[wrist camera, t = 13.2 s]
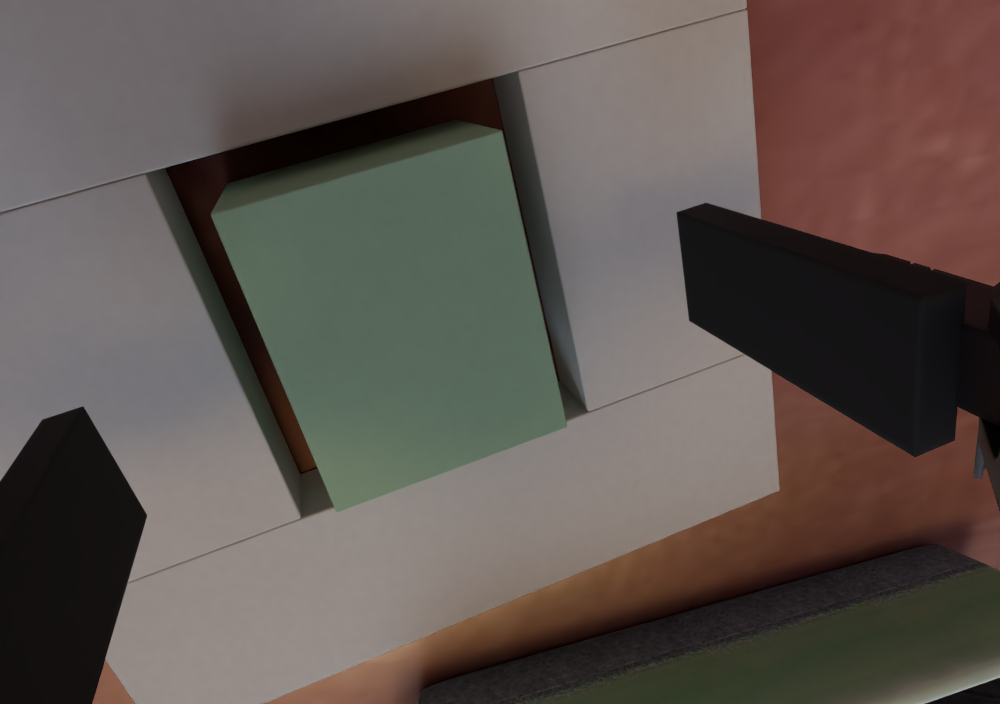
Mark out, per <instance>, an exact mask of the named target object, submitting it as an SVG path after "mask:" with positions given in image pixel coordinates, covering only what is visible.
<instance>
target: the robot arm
mask: <svg viewBox="0 0 1000 704" xmlns="http://www.w3.org/2000/svg"><path fill="white" fill-rule="evenodd" d="M676 213H677V222H678V230H679V239H680V247H681V256H682V264H683V273H684V281H685V290H686V299H687V307H688V316H689V321H690V322H692V323H693V324H695V325H697V326H698V327H700V328H702V329H703V330H705V331H707V332H708V333H710V334H712V335H713V336H715V337H717V338H718V339H720V340H722V341H723V342H725V343H727V344H728V345H730V346H732V347H733V348H735V349H737V350H738V351H740V352H742V353H743V354H745V355H746V356H748V357H750V358H751V359H753V360H755V361H756V362H758V363H760V364H761V365H763V366H765V367H766V368H768V369H770V370H771V371H773V372H775V373H776V374H778V375H780V376H781V377H783V378H785V379H786V380H788V381H790V382H791V383H793V384H795V385H796V386H798V387H799V388H801V389H803V390H804V391H806V392H808V393H809V394H811V395H813V396H814V397H816V398H818V399H819V400H821V401H823V402H824V403H826V404H828V405H829V406H831V407H833V408H834V409H836V410H838V411H839V412H841V413H843V414H844V415H846V416H848V417H849V418H851V419H853V420H854V421H856V422H857V423H859V424H861V425H862V426H864V427H866V428H867V429H869V430H871V431H872V432H874V433H876V434H877V435H879V436H881V437H882V438H884V439H886V440H887V441H889V442H891V443H892V444H894V445H896V446H897V447H899V448H901V449H902V450H904V451H906V452H907V453H909V454H911V455H912V456H914V457H917V456H919V455H921V454H924V453H926V452H928V451H931V450H933V449H935V448H938V447H940V446H942V445H945V444H947V443H950V442H952V441H954V440H955V429H956V417H957V406H958V407H960V408H962V409H964V410H966V411H968V412H970V413H972V414H974V415H976V416H978V417H979V427H978V437H977V447H976V457H975V468H974V478H980V479H982V475H983V470H984V469H985V468H986V469H987V472H988V475H989V478H990V481H991V485H992V488H993V491H994V494H995V497H996V501H997V504H998V507H999V510H1000V283H998V284H997V285H995V286H994V287H993V286H990V285H986V284H983V283H980V282H976V281H973V280H970V279H966V278H963V277H960V276H956V275H953V274H950V273H946V272H943V271H940V270H936V269H934V270H932V271H931V269H930V267H926V266H923V265H920V264H916V263H914V264H911V263H910V262H909V261H906V260H903V259H899V258H896V257H893V256H889V255H886V254H877V253H871V252H867V251H864V250H861V249H857V248H854V247H851V246H848V245H844V244H841V243H838V242H834V241H831V240H828V239H825V238H821V237H818V236H815V235H811V234H808V233H805V232H801V231H798V230H795V229H792V228H788V227H785V226H782V225H778V224H775V223H772V222H769V221H765V220H762V219H759V218H755V217H752V216H749V215H745V214H742V213H739V212H736V211H732V210H729V209H726V208H722V207H719V206H716V205H713V204H709V203H703V204H700V205H697V206H694V207H691V208H688V209H685V210H682V211H679V212H676ZM146 518H147V514H146V512H145V511H144V509H143V507H142V505H141V504H140V502H139V500H138V499H137V497H136V495H135V493H134V492H133V490H132V488H131V487H130V485H129V483H128V481H127V480H126V478H125V476H124V475H123V473H122V471H121V470H120V468H119V466H118V464H117V463H116V461H115V459H114V458H113V456H112V454H111V452H110V451H109V449H108V447H107V446H106V444H105V442H104V440H103V439H102V437H101V435H100V434H99V432H98V430H97V429H96V427H95V425H94V423H93V422H92V420H91V418H90V417H89V415H88V413H87V411H86V410H85V408H84V406H82V407H79V408H76V409H73V410H70V411H67V412H64V413H61V414H58V415H55V416H52V417H49V418H46V419H42V420H41V422H40V423H39V425H38V426H37V428H36V429H35V431H34V432H33V434H32V435H31V437H30V438H29V440H28V441H27V443H26V444H25V446H24V447H23V449H22V450H21V451H20V453H19V454H18V456H17V457H16V459H15V460H14V462H13V463H12V465H11V466H10V468H9V469H8V471H7V472H6V474H5V475H4V477H3V478H2V479H1V481H0V704H92V702H93V699H94V695H95V692H96V689H97V685H98V682H99V678H100V675H101V672H102V668H103V665H104V661H105V658H106V655H107V651H108V648H109V644H110V641H111V638H112V634H113V631H114V627H115V624H116V621H117V617H118V614H119V610H120V607H121V604H122V600H123V597H124V593H125V590H126V587H127V583H128V580H129V576H130V573H131V569H132V566H133V563H134V559H135V556H136V552H137V549H138V546H139V542H140V539H141V535H142V532H143V529H144V525H145V522H146Z"/></svg>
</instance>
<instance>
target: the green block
mask: <svg viewBox="0 0 1000 704" xmlns="http://www.w3.org/2000/svg"><path fill="white" fill-rule="evenodd" d="M211 217H212V220H213V222H214V225H215V227H216V229H217V232H218V234H219V236H220V239H221V241H222V243H223V246H224V248H225V251H226V253H227V255H228V258H229V260H230V262H231V265H232V267H233V269H234V272H235V274H236V277H237V279H238V281H239V284H240V286H241V288H242V291H243V293H244V295H245V298H246V300H247V303H248V305H249V307H250V310H251V312H252V314H253V317H254V319H255V321H256V324H257V326H258V329H259V331H260V333H261V336H262V338H263V340H264V343H265V345H266V347H267V350H268V352H269V354H270V357H271V359H272V362H273V364H274V366H275V369H276V371H277V373H278V376H279V378H280V380H281V383H282V385H283V388H284V390H285V392H286V395H287V397H288V399H289V402H290V404H291V406H292V409H293V411H294V414H295V416H296V418H297V421H298V423H299V425H300V428H301V430H302V432H303V435H304V437H305V440H306V442H307V444H308V447H309V449H310V451H311V454H312V456H313V458H314V461H315V463H316V466H317V468H318V470H319V473H320V475H321V477H322V480H323V482H324V484H325V487H326V489H327V492H328V494H329V496H330V499H331V501H332V503H333V506H334V508H335V510H336V512H340V511H343V510H346V509H348V508H351V507H354V506H356V505H359V504H362V503H364V502H367V501H370V500H373V499H375V498H378V497H381V496H383V495H386V494H389V493H391V492H394V491H397V490H400V489H402V488H405V487H408V486H410V485H413V484H416V483H418V482H421V481H424V480H426V479H429V478H432V477H435V476H437V475H440V474H443V473H445V472H448V471H451V470H453V469H456V468H459V467H462V466H464V465H467V464H470V463H472V462H475V461H478V460H480V459H483V458H486V457H488V456H491V455H494V454H497V453H499V452H502V451H505V450H507V449H510V448H513V447H515V446H518V445H521V444H524V443H526V442H529V441H532V440H534V439H537V438H540V437H542V436H545V435H548V434H550V433H553V432H556V431H559V430H561V429H564V428H566V427H567V421H566V417H565V412H564V408H563V403H562V399H561V394H560V390H559V385H558V381H557V376H556V372H555V367H554V363H553V358H552V353H551V349H550V344H549V340H548V335H547V331H546V326H545V322H544V317H543V313H542V308H541V304H540V299H539V295H538V290H537V286H536V281H535V277H534V272H533V268H532V263H531V259H530V254H529V249H528V245H527V240H526V236H525V231H524V227H523V222H522V218H521V213H520V209H519V204H518V200H517V195H516V191H515V186H514V182H513V177H512V173H511V168H510V164H509V159H508V155H507V150H506V146H505V141H504V136H503V132H502V131H501V130H498V129H494V128H489V127H485V126H481V125H477V124H473V123H469V122H464V121H460V120H456V119H455V120H452V121H448V122H444V123H441V124H437V125H434V126H430V127H427V128H423V129H419V130H416V131H412V132H409V133H405V134H402V135H398V136H394V137H391V138H387V139H384V140H380V141H377V142H373V143H369V144H366V145H362V146H359V147H355V148H352V149H348V150H344V151H341V152H337V153H334V154H330V155H327V156H323V157H319V158H316V159H312V160H309V161H305V162H302V163H298V164H294V165H291V166H287V167H284V168H280V169H277V170H273V171H269V172H266V173H262V174H259V175H255V176H252V177H248V178H244V179H241V180H237V181H234V182H230V183H228V184H227V185H226V186H225V188H224V190H223V192H222V194H221V196H220V198H219V199H218V201H217V203H216V205H215V207H214V209H213V210H212V212H211Z"/></svg>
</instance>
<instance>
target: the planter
mask: <svg viewBox="0 0 1000 704" xmlns="http://www.w3.org/2000/svg"><path fill="white" fill-rule="evenodd" d="M419 704H1000V570H998V569H995V568H993V567H991V566H988V565H986V564H984V563H981V562H979V561H977V560H974V559H972V558H969V557H967V556H965V555H962V554H960V553H957V552H955V551H953V550H950V549H948V548H945V547H942V546H940V545H937V544H931V545H925V546H921V547H917V548H913V549H909V550H905V551H902V552H898V553H894V554H891V555H887V556H884V557H880V558H876V559H873V560H869V561H865V562H862V563H858V564H855V565H851V566H847V567H844V568H840V569H837V570H833V571H829V572H826V573H822V574H819V575H815V576H812V577H808V578H804V579H801V580H797V581H794V582H790V583H787V584H783V585H779V586H776V587H772V588H769V589H765V590H762V591H758V592H754V593H751V594H747V595H744V596H740V597H737V598H733V599H730V600H726V601H722V602H719V603H715V604H712V605H708V606H705V607H701V608H698V609H694V610H690V611H687V612H683V613H680V614H676V615H673V616H669V617H666V618H662V619H659V620H655V621H651V622H648V623H644V624H641V625H637V626H634V627H630V628H627V629H623V630H620V631H616V632H612V633H609V634H605V635H602V636H598V637H595V638H591V639H588V640H584V641H581V642H577V643H574V644H570V645H567V646H563V647H560V648H556V649H553V650H549V651H545V652H542V653H538V654H535V655H531V656H528V657H524V658H521V659H517V660H514V661H510V662H507V663H503V664H500V665H497V666H493V667H490V668H486V669H483V670H479V671H476V672H472V673H469V674H465V675H462V676H459V677H456V678H453V679H449V680H446V681H443V682H440V683H437V684H434V685H432V686H430V687H427V688H425V689H424V690H423V691H422V693H421V695H420V698H419Z"/></svg>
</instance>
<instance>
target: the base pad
mask: <svg viewBox="0 0 1000 704" xmlns="http://www.w3.org/2000/svg"><path fill="white" fill-rule="evenodd" d="M746 7H747V0H0V481H1V479H2V478H3V477H4V475H5V474H6V472H7V471H8V469H9V468H10V466H11V465H12V463H13V462H14V460H15V459H16V457H17V456H18V454H19V453H20V451H21V450H22V449H23V447H24V446H25V444H26V443H27V441H28V440H29V438H30V437H31V435H32V434H33V432H34V431H35V429H36V428H37V426H38V425H39V423H40V422H41V420H42V419H46V418H49V417H52V416H55V415H58V414H61V413H64V412H67V411H70V410H73V409H76V408H79V407H82V406H84V408H85V410H86V411H87V413H88V415H89V417H90V418H91V420H92V422H93V423H94V425H95V427H96V429H97V430H98V432H99V434H100V435H101V437H102V439H103V440H104V442H105V444H106V446H107V447H108V449H109V451H110V452H111V454H112V456H113V458H114V459H115V461H116V463H117V464H118V466H119V468H120V470H121V471H122V473H123V475H124V476H125V478H126V480H127V481H128V483H129V485H130V487H131V488H132V490H133V492H134V493H135V495H136V497H137V499H138V500H139V502H140V504H141V505H142V507H143V509H144V511H145V512H146V514H147V518H146V522H145V525H144V529H143V532H142V535H141V539H140V542H139V546H138V549H137V552H136V556H135V559H134V563H133V566H132V569H131V573H130V576H129V580H128V583H127V587H126V590H125V593H124V597H123V600H122V604H121V607H120V610H119V614H118V617H117V621H116V624H115V627H114V631H113V634H112V638H111V641H110V644H109V648H108V651H107V655H106V658H105V660H106V661H107V663H108V664H109V666H110V667H111V669H112V670H113V672H114V673H115V674H116V676H117V677H118V679H119V680H120V682H121V683H122V685H123V686H124V687H125V689H126V690H127V692H128V693H129V695H130V696H131V698H132V699H133V700H134V702H135V703H136V704H264V703H266V702H268V701H271V700H273V699H276V698H278V697H280V696H283V695H285V694H288V693H290V692H293V691H295V690H297V689H300V688H302V687H305V686H307V685H310V684H312V683H314V682H317V681H319V680H322V679H324V678H327V677H329V676H331V675H334V674H336V673H339V672H341V671H344V670H346V669H348V668H351V667H353V666H356V665H358V664H360V663H363V662H365V661H368V660H370V659H373V658H375V657H377V656H380V655H382V654H385V653H387V652H390V651H392V650H394V649H397V648H399V647H402V646H404V645H407V644H409V643H411V642H414V641H416V640H419V639H421V638H423V637H426V636H428V635H431V634H433V633H436V632H438V631H440V630H443V629H445V628H448V627H450V626H453V625H455V624H457V623H460V622H462V621H465V620H467V619H470V618H472V617H474V616H477V615H479V614H482V613H484V612H486V611H489V610H491V609H494V608H496V607H499V606H501V605H503V604H506V603H508V602H511V601H513V600H516V599H518V598H520V597H523V596H525V595H528V594H530V593H533V592H535V591H537V590H540V589H542V588H545V587H547V586H549V585H552V584H554V583H557V582H559V581H562V580H564V579H566V578H569V577H571V576H574V575H576V574H579V573H581V572H583V571H586V570H588V569H591V568H593V567H596V566H598V565H600V564H603V563H605V562H608V561H610V560H612V559H615V558H617V557H620V556H622V555H625V554H627V553H629V552H632V551H634V550H637V549H639V548H642V547H644V546H646V545H649V544H651V543H654V542H656V541H659V540H661V539H663V538H666V537H668V536H671V535H673V534H675V533H678V532H680V531H683V530H685V529H688V528H690V527H692V526H695V525H697V524H700V523H702V522H705V521H707V520H709V519H712V518H714V517H717V516H719V515H722V514H724V513H726V512H729V511H731V510H734V509H736V508H738V507H741V506H743V505H746V504H748V503H751V502H753V501H755V500H758V499H760V498H763V497H765V496H768V495H770V494H772V493H775V492H777V491H779V490H780V488H779V473H778V458H777V443H776V429H775V414H774V399H773V384H772V371H771V370H770V369H768V368H766V367H765V366H763V365H761V364H760V363H758V362H756V361H755V360H753V359H751V358H750V357H748V356H746V355H745V354H743V353H742V352H740V351H738V350H737V349H735V348H733V347H732V346H730V345H728V344H727V343H725V342H723V341H722V340H720V339H718V338H717V337H715V336H713V335H712V334H710V333H708V332H707V331H705V330H703V329H702V328H700V327H698V326H697V325H695V324H693V323H692V322H690V321H689V316H688V307H687V299H686V290H685V281H684V273H683V264H682V256H681V247H680V239H679V230H678V222H677V213H676V212H679V211H682V210H685V209H688V208H691V207H694V206H697V205H700V204H703V203H709V204H713V205H716V206H719V207H722V208H726V209H729V210H732V211H736V212H739V213H742V214H745V215H749V216H752V217H755V218H759V219H761V206H760V191H759V176H758V161H757V146H756V132H755V117H754V102H753V87H752V72H751V57H750V42H749V27H748V12H747V10H746V9H745V8H746ZM491 78H493V82H494V87H495V91H496V96H497V100H498V105H499V109H500V114H501V118H502V123H503V127H504V132H505V136H506V141H507V145H508V150H509V154H510V159H511V163H512V168H513V172H514V177H515V181H516V186H517V190H518V195H519V199H520V204H521V208H522V213H523V217H524V222H525V226H526V231H527V235H528V240H529V244H530V249H531V253H532V258H533V262H534V267H535V272H536V276H537V281H538V285H539V290H540V294H541V299H542V303H543V308H544V312H545V317H546V321H547V326H548V330H549V335H550V339H551V344H552V348H553V353H554V357H555V362H556V366H557V371H558V375H559V380H560V381H559V382H558V385H559V390H560V394H561V399H562V403H563V408H564V412H565V417H566V421H567V427H566V428H564V429H561V430H559V431H556V432H553V433H550V434H548V435H545V436H542V437H540V438H537V439H534V440H532V441H529V442H526V443H524V444H521V445H518V446H515V447H513V448H510V449H507V450H505V451H502V452H499V453H497V454H494V455H491V456H488V457H486V458H483V459H480V460H478V461H475V462H472V463H470V464H467V465H464V466H462V467H459V468H456V469H453V470H451V471H448V472H445V473H443V474H440V475H437V476H435V477H432V478H429V479H426V480H424V481H421V482H418V483H416V484H413V485H410V486H408V487H405V488H402V489H400V490H397V491H394V492H391V493H389V494H386V495H383V496H381V497H378V498H375V499H373V500H370V501H367V502H364V503H362V504H359V505H356V506H354V507H351V508H348V509H346V510H343V511H340V512H336V510H335V508H334V506H333V503H332V501H331V499H330V496H329V494H328V492H327V489H326V487H325V484H324V482H323V480H322V477H321V475H320V473H319V470H318V468H317V469H314V470H311V471H308V472H305V473H303V474H300V473H299V470H298V468H297V466H296V463H295V461H294V459H293V457H292V454H291V452H290V450H289V448H288V445H287V443H286V441H285V439H284V436H283V434H282V432H281V429H280V427H279V425H278V423H277V420H276V418H275V416H274V414H273V411H272V409H271V407H270V404H269V402H268V400H267V398H266V395H265V393H264V391H263V389H262V386H261V384H260V382H259V380H258V377H257V375H256V373H255V370H254V368H253V366H252V364H251V361H250V359H249V357H248V355H247V352H246V350H245V348H244V345H243V343H242V341H241V339H240V336H239V334H238V332H237V330H236V327H235V325H234V323H233V321H232V318H231V316H230V314H229V311H228V309H227V307H226V305H225V302H224V300H223V298H222V296H221V293H220V291H219V289H218V286H217V284H216V282H215V280H214V277H213V275H212V273H211V271H210V268H209V266H208V264H207V262H206V259H205V257H204V255H203V252H202V250H201V248H200V246H199V243H198V241H197V239H196V237H195V234H194V232H193V230H192V227H191V225H190V223H189V221H188V218H187V216H186V214H185V212H184V209H183V207H182V205H181V203H180V200H179V198H178V196H177V193H176V191H175V189H174V187H173V184H172V182H171V180H170V178H169V175H168V173H167V171H166V167H170V166H173V165H177V164H181V163H184V162H188V161H192V160H195V159H199V158H203V157H206V156H210V155H213V154H217V153H221V152H224V151H228V150H232V149H235V148H239V147H243V146H246V145H250V144H254V143H257V142H261V141H265V140H268V139H272V138H276V137H279V136H283V135H287V134H290V133H294V132H298V131H301V130H305V129H308V128H312V127H316V126H319V125H323V124H327V123H330V122H334V121H338V120H341V119H345V118H349V117H352V116H356V115H360V114H363V113H367V112H371V111H374V110H378V109H382V108H385V107H389V106H393V105H396V104H400V103H403V102H407V101H411V100H414V99H418V98H422V97H425V96H429V95H433V94H436V93H440V92H444V91H447V90H451V89H455V88H458V87H462V86H466V85H469V84H473V83H477V82H480V81H484V80H487V79H491Z"/></svg>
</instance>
